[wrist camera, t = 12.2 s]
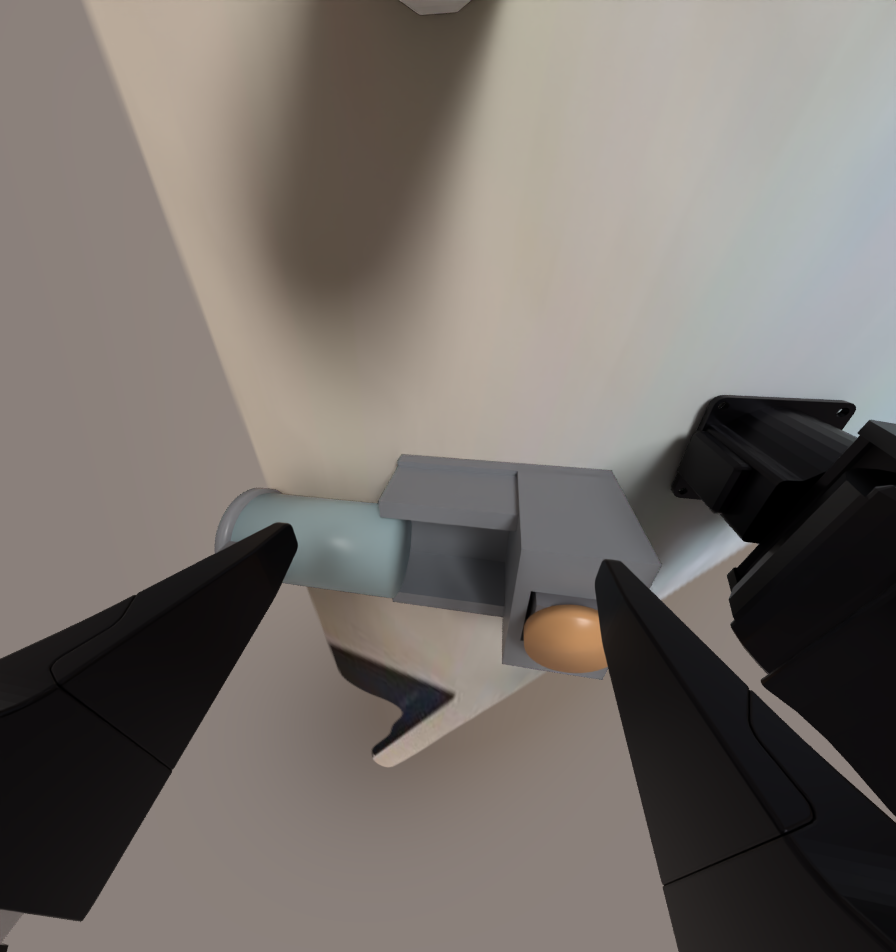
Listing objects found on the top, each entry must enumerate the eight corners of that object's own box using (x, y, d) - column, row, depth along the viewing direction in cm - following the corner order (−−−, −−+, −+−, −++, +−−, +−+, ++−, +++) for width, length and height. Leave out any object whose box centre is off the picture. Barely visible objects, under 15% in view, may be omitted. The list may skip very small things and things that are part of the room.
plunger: (611, 560, 18) (635, 627, 14) (591, 611, 20) (607, 679, 17) (526, 551, 18) (530, 613, 15) (517, 602, 21) (518, 665, 17)
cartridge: (409, 483, 22) (351, 607, 14) (414, 550, 26) (370, 681, 18) (269, 470, 24) (140, 576, 15) (292, 536, 27) (197, 651, 19)
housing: (611, 470, 21) (661, 565, 14) (577, 575, 26) (602, 680, 19) (401, 454, 22) (356, 530, 16) (410, 555, 28) (379, 644, 21)
